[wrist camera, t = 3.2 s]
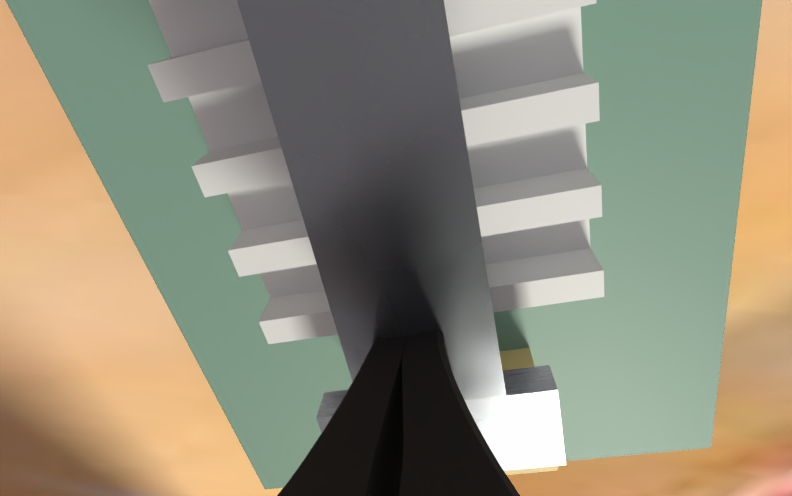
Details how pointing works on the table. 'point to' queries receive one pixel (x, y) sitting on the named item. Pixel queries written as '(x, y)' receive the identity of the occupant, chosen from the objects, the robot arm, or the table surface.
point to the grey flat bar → (395, 199)
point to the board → (493, 187)
